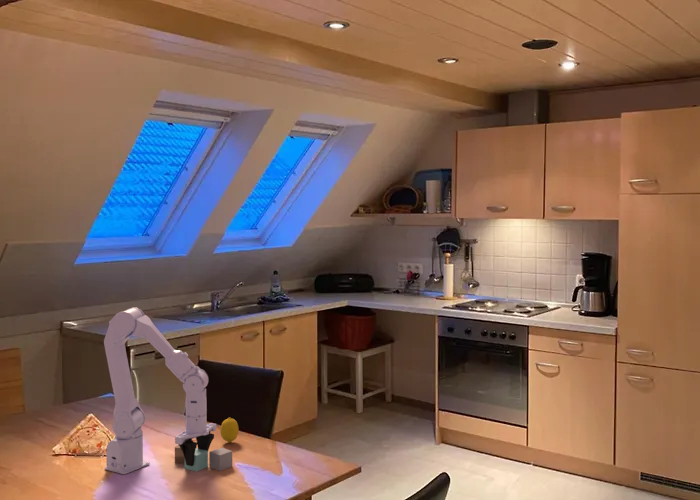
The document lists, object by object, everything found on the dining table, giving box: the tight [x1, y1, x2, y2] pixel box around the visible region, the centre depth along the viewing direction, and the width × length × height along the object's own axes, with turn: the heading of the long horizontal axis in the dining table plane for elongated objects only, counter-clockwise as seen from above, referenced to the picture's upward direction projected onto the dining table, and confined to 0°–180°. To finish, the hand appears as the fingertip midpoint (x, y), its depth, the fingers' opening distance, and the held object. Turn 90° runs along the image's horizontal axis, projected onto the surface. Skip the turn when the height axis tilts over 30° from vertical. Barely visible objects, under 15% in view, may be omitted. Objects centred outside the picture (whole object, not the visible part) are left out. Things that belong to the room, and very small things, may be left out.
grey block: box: [208, 447, 233, 472], centre depth 195 cm, size 4×4×4 cm
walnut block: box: [174, 444, 198, 465], centre depth 199 cm, size 4×4×4 cm
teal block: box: [184, 447, 209, 472], centre depth 194 cm, size 4×4×4 cm
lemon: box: [220, 417, 240, 444], centre depth 215 cm, size 6×6×8 cm
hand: (196, 462), depth 194 cm, fingers closed on teal block, 4 cm apart
